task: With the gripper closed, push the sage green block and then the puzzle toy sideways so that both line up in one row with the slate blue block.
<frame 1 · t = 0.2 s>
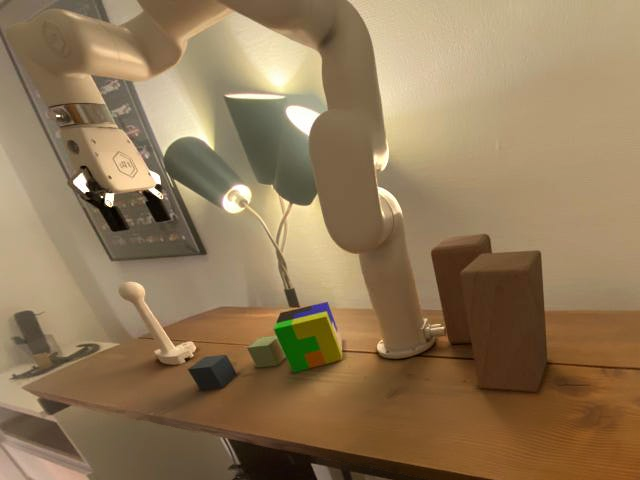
hand: (144, 225, 72), 31 cm above the table, tool pointing down, fingers open, 9 cm apart
puzzle toy: (319, 356, 83), on the table
slate blue block: (219, 382, 79), on the table
sage green block: (273, 360, 84), on the table
joystick: (181, 356, 95), on the table
block: (475, 334, 81), on the table
wooden block: (514, 375, 65), on the table
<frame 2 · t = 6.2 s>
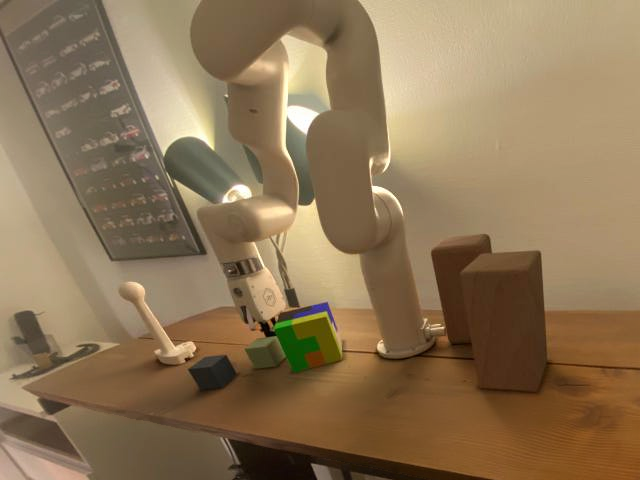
hand: (278, 344, 87), 2 cm above the table, tool pointing down, fingers closed
sage green block: (271, 361, 84), on the table, touching gripper
everything else where it was.
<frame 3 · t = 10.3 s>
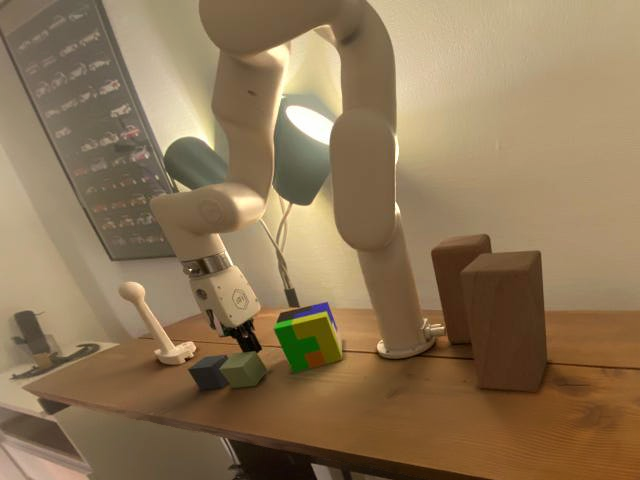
hand: (253, 352, 78), 5 cm above the table, tool pointing down, fingers closed
sage green block: (250, 378, 77), on the table, tilted 9°, touching gripper
everything else where it was.
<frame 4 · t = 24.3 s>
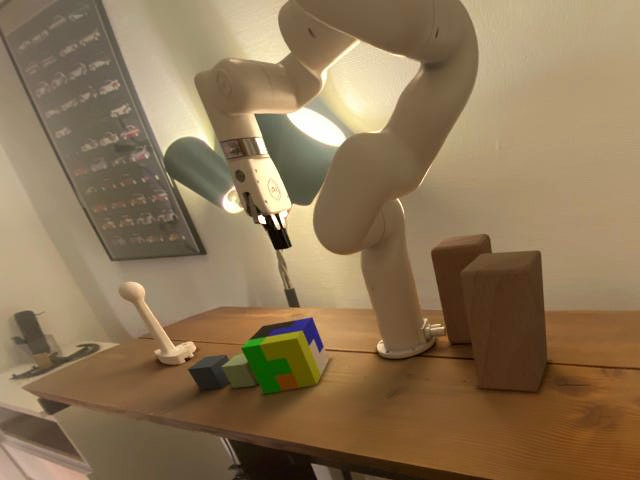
hand: (283, 248, 80), 22 cm above the table, tool pointing down, fingers closed
puzzle toy: (299, 376, 76), on the table
sage green block: (251, 380, 77), on the table
everything else where it was.
at the end: sage green block 0.3 cm from the target spot, on the table; puzzle toy 0.5 cm from the target spot, on the table; slate blue block moved 0.0 cm from its start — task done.
